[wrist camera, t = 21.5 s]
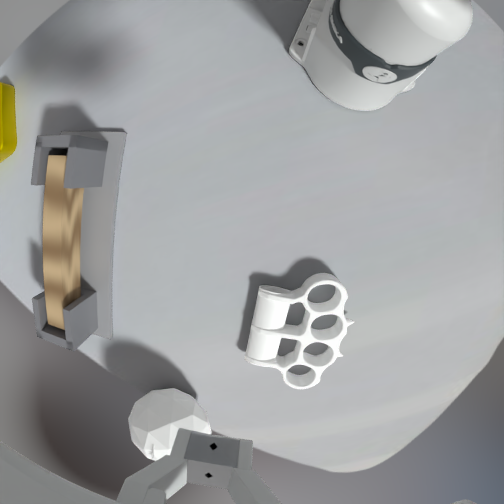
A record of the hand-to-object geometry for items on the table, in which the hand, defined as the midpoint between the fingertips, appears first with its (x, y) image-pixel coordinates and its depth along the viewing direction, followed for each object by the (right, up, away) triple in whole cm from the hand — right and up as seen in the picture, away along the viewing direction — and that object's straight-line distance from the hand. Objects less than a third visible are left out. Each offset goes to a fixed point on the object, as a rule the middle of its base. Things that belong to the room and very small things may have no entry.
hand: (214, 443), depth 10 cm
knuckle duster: (+9, -3, +33) cm, 34 cm away
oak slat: (-25, +10, +28) cm, 38 cm away
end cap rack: (-25, +10, +31) cm, 41 cm away
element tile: (-49, +31, +27) cm, 64 cm away
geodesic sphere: (-11, -19, +37) cm, 43 cm away
